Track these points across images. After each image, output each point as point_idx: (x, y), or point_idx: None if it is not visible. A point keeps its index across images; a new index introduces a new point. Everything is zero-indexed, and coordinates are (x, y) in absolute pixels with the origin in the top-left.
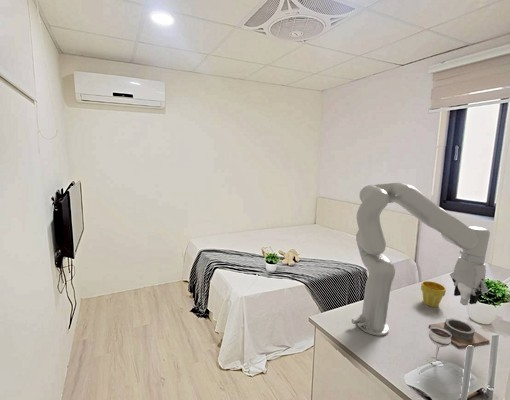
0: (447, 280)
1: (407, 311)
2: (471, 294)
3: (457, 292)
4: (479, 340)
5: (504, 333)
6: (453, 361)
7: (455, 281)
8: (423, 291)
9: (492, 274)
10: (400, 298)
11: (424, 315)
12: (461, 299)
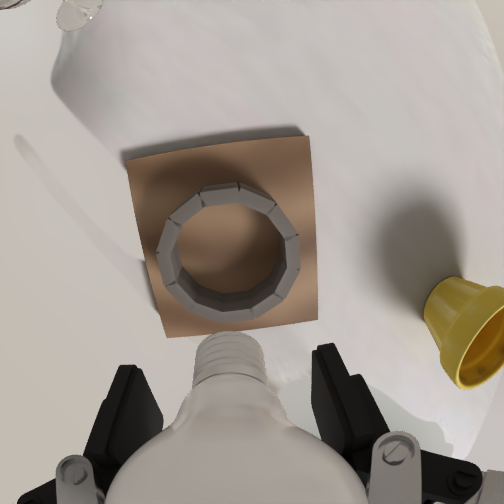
0: (472, 421)
1: (430, 138)
2: (103, 458)
3: (323, 394)
4: (164, 296)
5: None
6: (65, 76)
7: (427, 487)
8: (495, 286)
9: None
10: (498, 197)
11: (393, 198)
12: (236, 358)
